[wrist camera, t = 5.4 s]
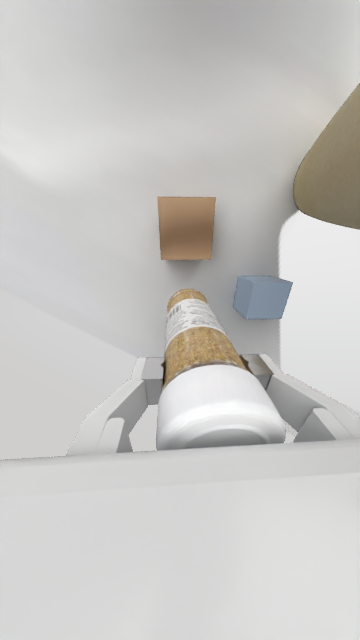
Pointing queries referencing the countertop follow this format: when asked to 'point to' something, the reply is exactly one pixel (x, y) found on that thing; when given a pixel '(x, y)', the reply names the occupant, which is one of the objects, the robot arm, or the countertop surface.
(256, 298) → the slate blue block
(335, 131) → the plant pot
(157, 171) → the countertop surface
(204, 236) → the walnut block
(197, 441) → the sprinkles bottle
